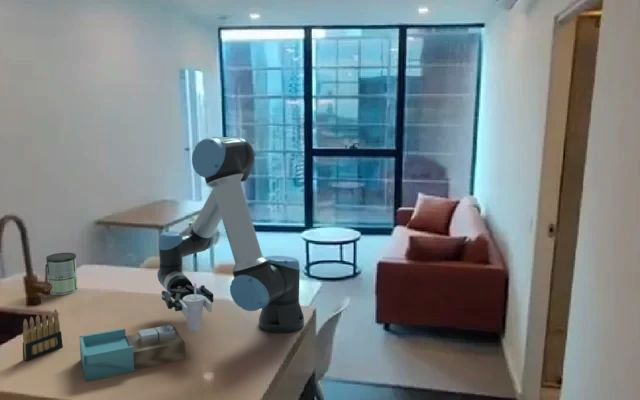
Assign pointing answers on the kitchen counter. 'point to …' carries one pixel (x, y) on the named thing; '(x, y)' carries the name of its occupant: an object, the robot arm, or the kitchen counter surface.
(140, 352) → the olive-brown boxy piece
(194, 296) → the smoothie
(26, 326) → the ammunition clip
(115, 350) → the tray
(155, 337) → the chip
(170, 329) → the chip
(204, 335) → the kitchen counter surface
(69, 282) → the coffee can
